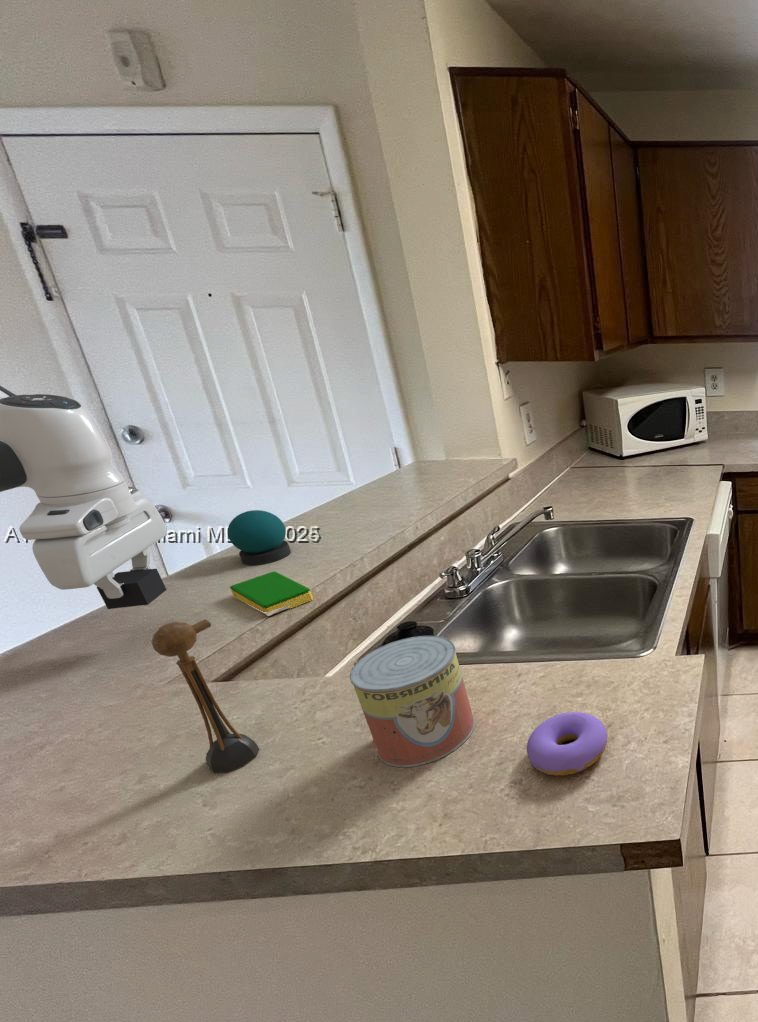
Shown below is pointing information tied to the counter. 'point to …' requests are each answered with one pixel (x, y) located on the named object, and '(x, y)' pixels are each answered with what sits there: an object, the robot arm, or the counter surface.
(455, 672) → the canned food
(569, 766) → the donut
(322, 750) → the counter surface
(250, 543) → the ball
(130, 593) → the block
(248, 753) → the wooden tabletop sculpture
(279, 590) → the dish sponge
